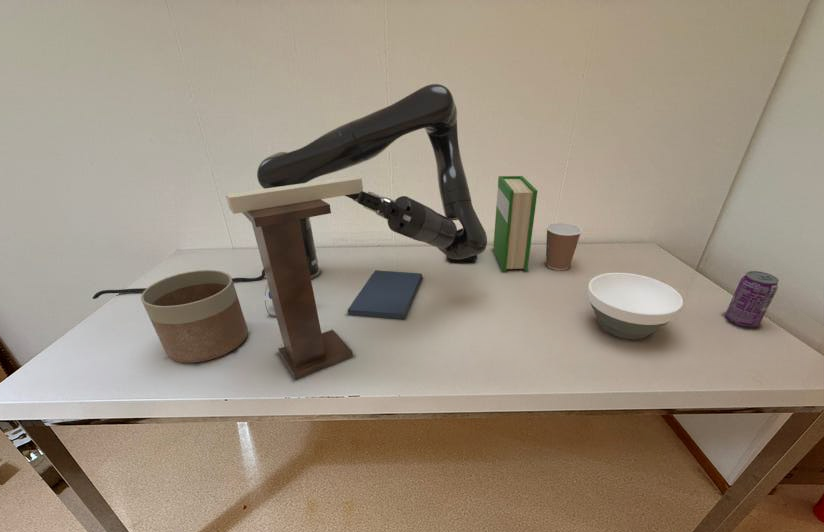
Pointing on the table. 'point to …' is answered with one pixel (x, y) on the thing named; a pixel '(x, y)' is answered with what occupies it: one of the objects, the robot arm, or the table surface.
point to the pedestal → (295, 287)
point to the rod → (293, 194)
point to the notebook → (386, 295)
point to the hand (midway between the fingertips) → (348, 191)
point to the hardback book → (514, 222)
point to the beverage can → (752, 298)
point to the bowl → (632, 304)
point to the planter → (196, 315)
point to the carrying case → (468, 259)
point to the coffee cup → (561, 244)
